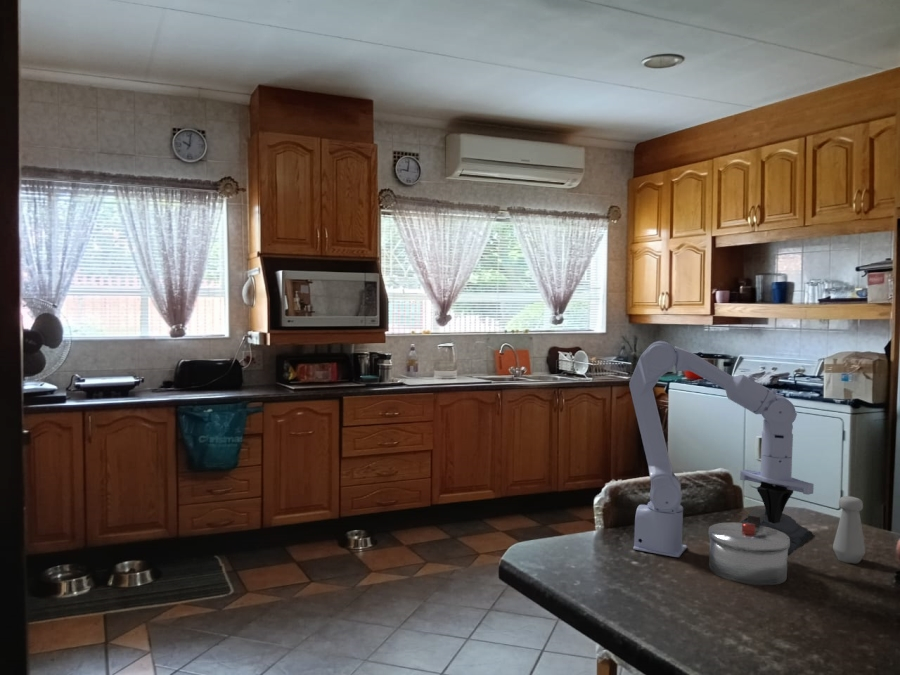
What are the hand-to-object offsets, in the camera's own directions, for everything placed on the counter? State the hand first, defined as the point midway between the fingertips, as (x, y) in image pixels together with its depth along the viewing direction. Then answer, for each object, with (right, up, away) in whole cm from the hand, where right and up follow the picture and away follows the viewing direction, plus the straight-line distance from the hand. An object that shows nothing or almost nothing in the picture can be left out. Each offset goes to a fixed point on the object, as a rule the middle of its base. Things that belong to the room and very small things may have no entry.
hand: (774, 521), depth 145 cm
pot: (-6, -8, -3) cm, 11 cm away
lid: (-6, -2, -3) cm, 7 cm away
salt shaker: (+17, -9, +3) cm, 19 cm away
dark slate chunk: (+6, -8, +17) cm, 20 cm away
